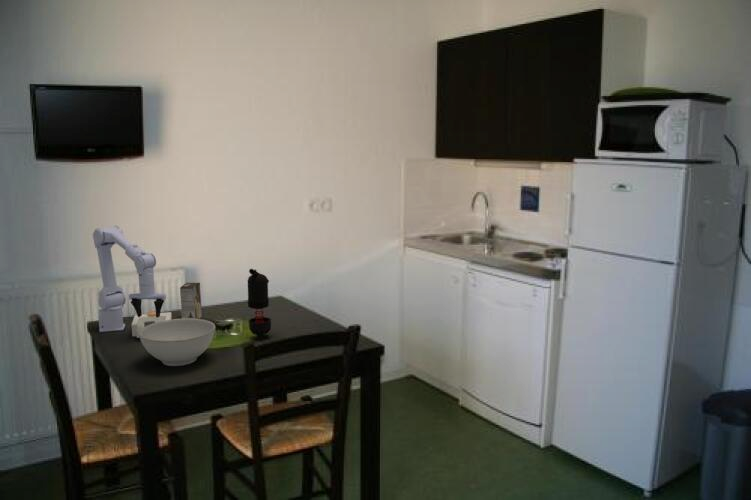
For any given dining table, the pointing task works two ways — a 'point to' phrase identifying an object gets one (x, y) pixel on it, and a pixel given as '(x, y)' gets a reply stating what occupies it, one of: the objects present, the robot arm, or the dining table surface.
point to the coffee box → (191, 300)
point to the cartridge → (143, 326)
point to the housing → (147, 318)
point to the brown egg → (151, 313)
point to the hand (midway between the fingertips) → (148, 316)
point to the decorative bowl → (177, 339)
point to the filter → (258, 303)
